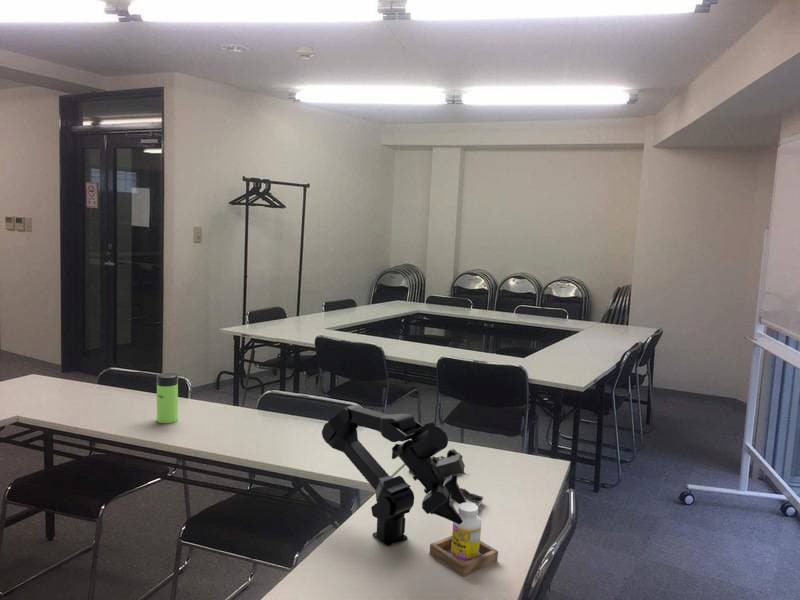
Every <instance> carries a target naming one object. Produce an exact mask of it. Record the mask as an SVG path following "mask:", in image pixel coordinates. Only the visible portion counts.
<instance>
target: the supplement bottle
mask: <svg viewBox="0 0 800 600" xmlns="http://www.w3.org/2000/svg"><path fill="white" fill-rule="evenodd" d="M457 507H458V509H457V513H458V514H459V516H460V517H461V519H462V521H463V522H462V523H461V524H457V523H455V522H453V521H452V523H453V524H452V531H451V533H452V534H451V536H452V545H451V548H450V554H451V555H453V556H454V557H456V558H457V559H459V560H460V561H462V562H463V563H464V562H467V561H469V560H471V559H474V558H476V557H478V556H480V553H479V546H480V541H481V534H482V533H481V532H482V531H481V530H482V520H481V517H480V516H479V515H478V514H479V507H478V506H477V505H476V504H475V503H473V502H467V501H466V502H465V503H461V504H459V503H458V506H457Z"/></svg>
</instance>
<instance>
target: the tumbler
mask: <svg viewBox="0 0 800 600" xmlns="http://www.w3.org/2000/svg"><path fill="white" fill-rule="evenodd" d="M178 381H179V374H178V373H176V372H175V373H174V372H161V373H158V374H157V375H156V421H157V423H158V424H159V423H160V424H174V423H176V422H177V421H178V420H179V414H178V413H179V382H178Z"/></svg>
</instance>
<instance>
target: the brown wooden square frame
mask: <svg viewBox="0 0 800 600" xmlns="http://www.w3.org/2000/svg"><path fill="white" fill-rule="evenodd" d="M451 545H452V535H450V536H447V537H445V538H442V539H439V540H438V541H435V542H431V543H430V545H429V555H431V556H432V557H434V558H435V559H436V560H438V561H439V562H441V563H442V564H444V565H445V566H447V567H448V568H450V569H451V570H452V571H454V572H455V573H457V574H458V575H460V576H461V577H465V576H467V575H470V574H471V573H473V572H476V571H479V570H481V569H483V568H485V567H487V566H489V565H491V564H493V563H496V562H498V558H499V556H498V555H499V551H498V550H497V549H495V548H493V547H492V546H490V545H489V544H487V543H485V542H484V541H482V540H480V546H479V556H478V557H476V558H474V559H471V560H469V561H467V562H464V563H463V562H462V561H460V560H459V559H457V558H456V557H454V556H453V555H451V553H449V552H448V550H451Z"/></svg>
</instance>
